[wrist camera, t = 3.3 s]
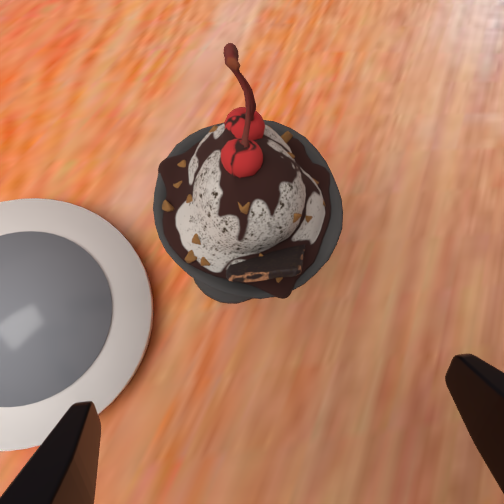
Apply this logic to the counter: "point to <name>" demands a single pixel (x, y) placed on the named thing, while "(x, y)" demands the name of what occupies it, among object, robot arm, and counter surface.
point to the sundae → (247, 205)
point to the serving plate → (65, 315)
